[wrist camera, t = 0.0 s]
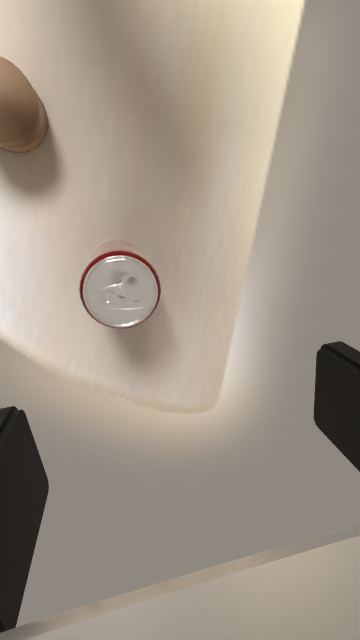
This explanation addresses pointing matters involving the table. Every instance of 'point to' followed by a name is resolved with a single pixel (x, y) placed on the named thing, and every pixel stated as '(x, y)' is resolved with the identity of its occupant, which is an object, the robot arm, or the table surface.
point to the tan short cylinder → (19, 111)
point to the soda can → (119, 285)
